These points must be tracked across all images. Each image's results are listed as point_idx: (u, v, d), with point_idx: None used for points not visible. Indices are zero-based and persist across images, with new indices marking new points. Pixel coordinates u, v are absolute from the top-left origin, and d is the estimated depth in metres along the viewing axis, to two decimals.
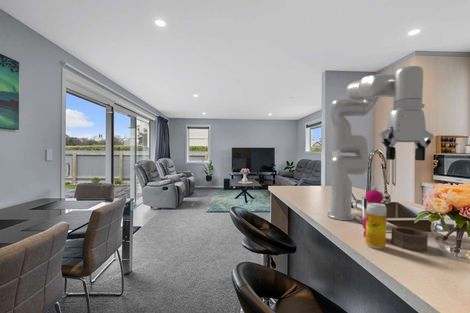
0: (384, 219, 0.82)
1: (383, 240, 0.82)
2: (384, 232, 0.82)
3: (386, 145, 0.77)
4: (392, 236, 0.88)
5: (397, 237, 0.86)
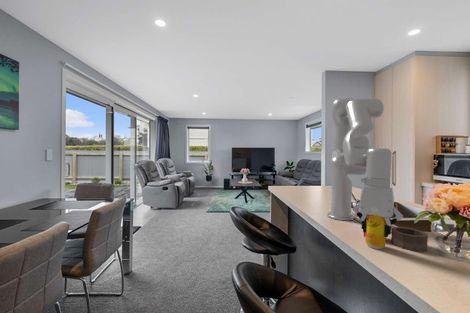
0: (384, 219, 0.82)
1: (383, 240, 0.82)
2: (384, 232, 0.82)
3: None
4: (392, 236, 0.88)
5: (397, 237, 0.86)
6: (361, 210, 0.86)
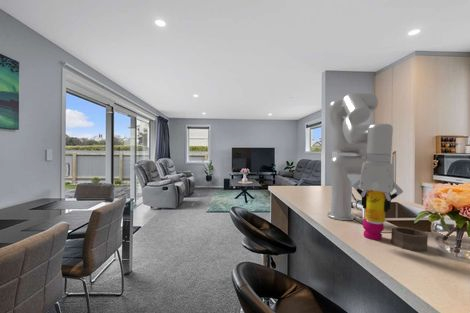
0: (384, 194, 0.83)
1: (383, 215, 0.83)
2: (384, 207, 0.83)
3: None
4: (392, 236, 0.88)
5: (397, 237, 0.86)
6: (361, 186, 0.86)
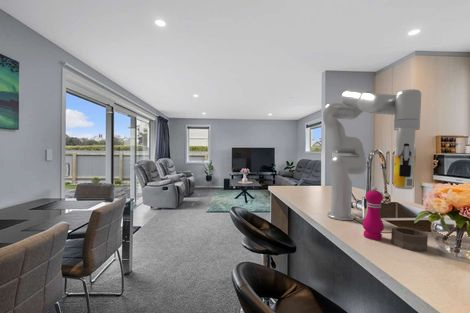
0: (400, 159, 0.84)
1: (399, 179, 0.85)
2: None
3: (405, 163, 0.82)
4: (392, 236, 0.88)
5: (397, 237, 0.86)
6: None
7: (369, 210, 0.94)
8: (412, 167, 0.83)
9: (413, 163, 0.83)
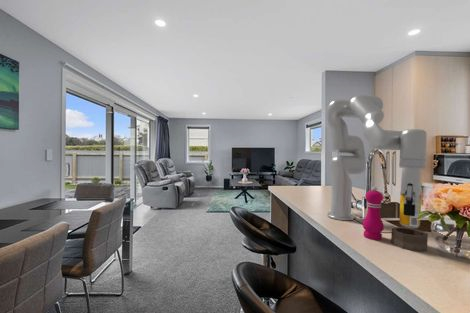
0: None
1: (404, 218, 0.86)
2: None
3: (408, 203, 0.83)
4: (392, 236, 0.88)
5: (397, 237, 0.86)
6: None
7: (369, 210, 0.94)
8: (417, 206, 0.84)
9: (418, 202, 0.84)
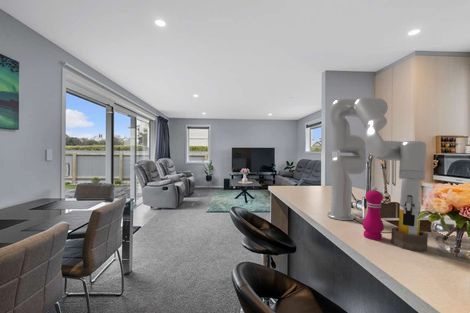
0: None
1: None
2: (404, 226, 0.86)
3: (408, 213, 0.82)
4: (392, 236, 0.88)
5: (397, 237, 0.86)
6: None
7: (369, 210, 0.94)
8: (416, 223, 0.84)
9: None
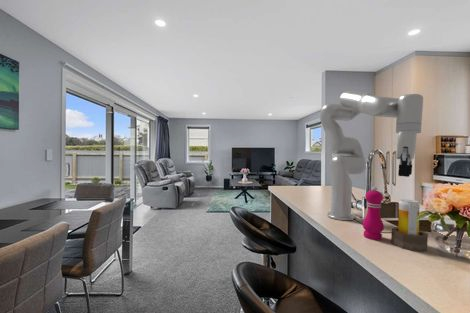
0: (403, 214, 0.86)
1: None
2: (404, 226, 0.86)
3: (403, 163, 0.84)
4: (392, 236, 0.88)
5: (397, 237, 0.86)
6: None
7: (369, 210, 0.94)
8: (415, 222, 0.84)
9: None
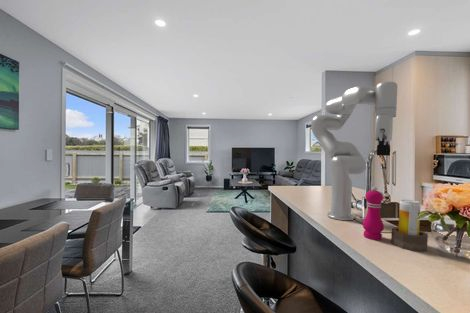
0: (403, 214, 0.86)
1: None
2: (404, 227, 0.86)
3: (381, 143, 0.93)
4: (392, 236, 0.88)
5: (397, 237, 0.86)
6: None
7: (369, 210, 0.94)
8: (416, 223, 0.84)
9: None
